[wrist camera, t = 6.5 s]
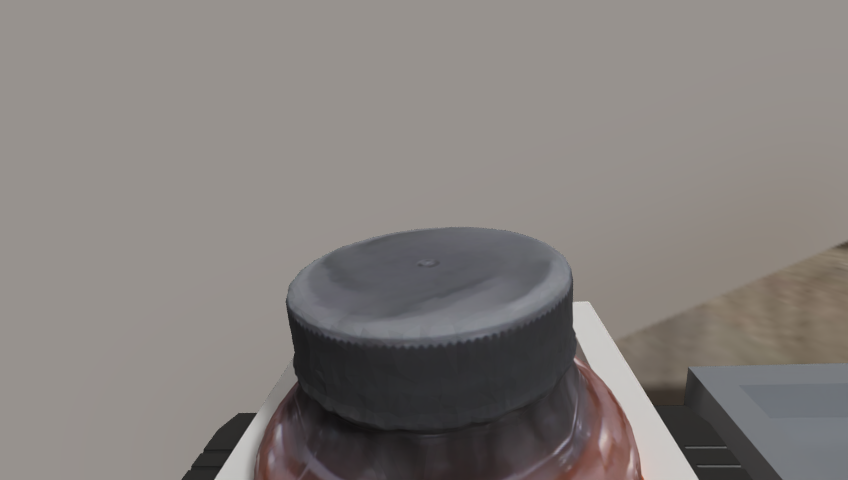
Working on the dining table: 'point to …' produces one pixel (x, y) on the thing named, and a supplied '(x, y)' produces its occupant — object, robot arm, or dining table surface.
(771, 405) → the tray
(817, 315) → the dining table surface
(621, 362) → the robot arm
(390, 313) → the supplement bottle
